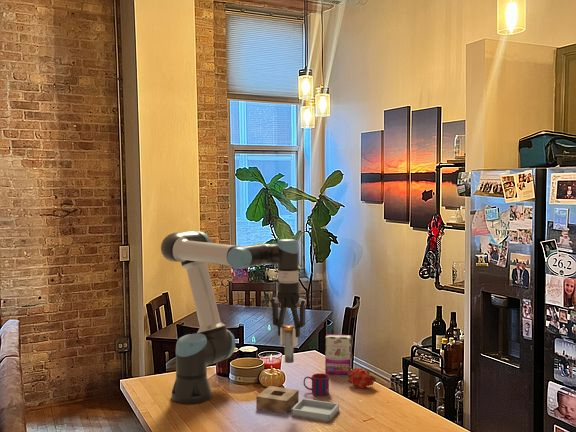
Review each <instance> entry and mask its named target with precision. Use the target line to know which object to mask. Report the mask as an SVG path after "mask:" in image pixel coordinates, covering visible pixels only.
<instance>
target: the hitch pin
mask: <svg viewBox="0 0 576 432" xmlns="http://www.w3.org/2000/svg"><path fill="white" fill-rule="evenodd" d="M294 328H295V325H292V324H291V325H290V324H288V325H287V324H286V325H285V324H284V325H283V330H284V331H285V344H284V363H287V364H292V363H294V360H295V359H294V347H293V329H294Z"/></svg>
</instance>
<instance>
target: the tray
mask: <svg viewBox="0 0 576 432" xmlns="http://www.w3.org/2000/svg"><path fill="white" fill-rule="evenodd" d="M290 411H291V414H290V415H291V417H297V418H302V419H309V420H315V421H321V422H328V423H331V421H332V420H333V418H335V416H336V415H337V414H338V412H339V411H340V404H339V403H336V402H331V401H330V402H329V401H323V400H315V399H310V398H301V399H300V400H299V402H298V403H297V404H296V405H295V406H294V407H293V408H292V409H291V410H290Z"/></svg>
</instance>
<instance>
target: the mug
mask: <svg viewBox="0 0 576 432" xmlns="http://www.w3.org/2000/svg"><path fill="white" fill-rule="evenodd" d="M306 379H310V380H311V387H308V386H307V385H306ZM303 386H304V388H306V390H309V391H311V394H312V395H314V396H318V397H319V396H320V397H324V396H325V397H326V396H327V395H329V393H330V375H329V374H326V373H313V374H312V376H305V377H304V379H303Z"/></svg>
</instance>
